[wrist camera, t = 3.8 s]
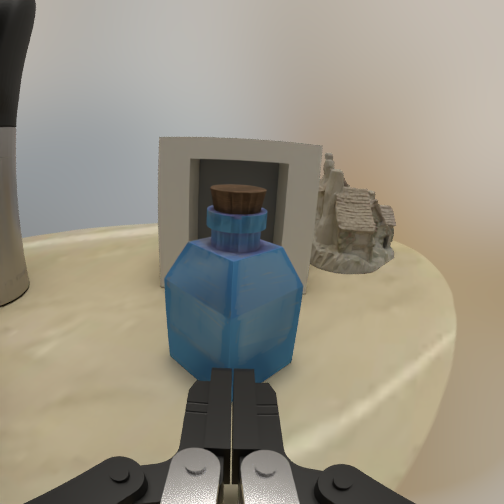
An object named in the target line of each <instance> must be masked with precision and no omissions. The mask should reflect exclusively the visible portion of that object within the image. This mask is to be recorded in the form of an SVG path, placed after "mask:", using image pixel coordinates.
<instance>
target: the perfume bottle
mask: <svg viewBox="0 0 504 504" xmlns="http://www.w3.org/2000/svg"><path fill="white" fill-rule="evenodd" d="M210 189H211V195H212V200H213V205H211V206H209V207H208V208H207V223H206V225H207V226H208V227H209V228H211V237H208V238H203V239H198V240H194V241H189V242H188V243H187V244H186V246H185V247H184V249H183V250H182V252H181V253H180V255H179V256H178V258H177V259H176V261H175V262H174V264H173V265H172V267H171V268H170V270H169V272H168V273H167V275H166V276H165V278H164V284H165V301H166V315H167V328H168V339H169V350H170V356H171V357H172V358H173V359H175V360H176V361H177V362H178V363H179V364H180V365H181V366H182V367H184V368H185V369H186V370H187V371H188V372H189V373H190V374H192V375H193V376H194V377H195V378H196V379H197V380H199V381H210V380H211V370H212V367H215V368H232V394H231V402H232V401H233V377H234V368H240V369H254V373H255V383H262V382H263V381H265V380H266V379H268V378H269V377H271V376H272V375H273V374H275V373H276V372H278V371H279V370H281V369H282V368H284V367H285V366H286V365H288V364H289V363H291V361H292V355H293V349H294V344H295V338H296V332H297V326H298V319H299V313H300V307H301V300H302V293H303V284H302V282H301V280H300V278H299V276H298V274H297V272H296V271H295V269H294V267H293V265H292V263H291V261H290V259H289V257H288V255H287V254H286V252H285V250H284V248H283V247H282V246H279V245H276V244H273V243H270V242H267V241H264V240H261V239H260V236H261V231H263V230H265V229H266V224H267V210H266V209H264V208H262V204H263V201H264V197H265V194H266V191H267V190H266V189H264V188H261V187H256V186H249V185H235V184H225V185H214V186H211V187H210Z"/></svg>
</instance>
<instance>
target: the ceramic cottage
mask: <svg viewBox="0 0 504 504" xmlns="http://www.w3.org/2000/svg"><path fill="white" fill-rule="evenodd" d="M325 159H326V161H325V164H324V168H323V170H324V176H323V177H322V179H320V180H319V190H318V199H317V208H316V217H315V226H314V234H313V242H312V250H311V257H310V264H312V265H313V266H315V267H317V268H319V269H322V270H325V271H329V272H334V273H341V274H363V273H366V272H367V273H371V272H374V271H375V270H377V269H378V268H380V267H381V266H383V265H385V263H387V262H389V261H390V260H392V259H393V258H394V251H393V250H392V248H391V247H390V244H391V243H390V242H392V239H393V236H394V235H393V234H394V229H393V226H396V222H395V218H394V213H393V210H392V208H391V207H390V206H386V205H379V204H378V200H375V192H374V191H370V190H369V191H368V189H358V188H351V187H350V186H349V185H348V184H347V183H346V181H345V178H344V177H343V172H342V171H341V170H337V169H334V161H333V155H332V153H326V154H325Z"/></svg>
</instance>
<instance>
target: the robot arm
mask: <svg viewBox="0 0 504 504" xmlns="http://www.w3.org/2000/svg"><path fill="white" fill-rule="evenodd" d="M35 11H36V3H35V0H0V305H3V304H6V303H8V302H10V301H12V300H14V299H16V298H17V297H19V296H20V295H22V294H23V293H24V292H25V291H26V290H27V288H28V286H29V278H28V273H27V268H26V262H25V256H24V250H23V243H22V236H21V228H20V220H19V210H18V199H17V184H16V156H15V155H16V128H15V127H16V117H17V108H18V101H19V92H20V84H21V78H22V71H23V67H24V62H25V58H26V53H27V49H28V45H29V41H30V37H31V33H32V29H33V24H34V18H35ZM231 394H232V368H215V367H212V370H211V380H210V381H198V380H197V381H196V382H195V383H194V384H193V386H192V387H191V388H190V389H189V393H188V398H187V404H186V410H185V416H184V422H183V428H182V434H181V441H180V446H179V449H178V451H177V453H176V454H175V455H174V456H173V457H172V458H171V459H169V460H167V461H165V462H162V463H158V464H150V465H141V466H140V465H139V464H138V463H137V462H136V461H134V460H132V459H130V458H127V457H121V456H117V457H111V458H109V459H107V460H105V461H103V462H101V463H100V464H98V465H96V466H95V467H93V468H91V469H89V470H88V471H86V472H84V473H82V474H80V475H79V476H77V477H75V478H73V479H71V480H70V481H68V482H66V483H64V484H62V485H60V486H58V487H56V488H55V489H53V490H51V491H49V492H47V493H45V494H43V495H41V496H39V497H37V498H35V499H33V500H30V501H28V502H26V503H24V504H222V502H223V495H224V484H230V454H231ZM232 484H238V504H415V503H413V502H412V501H410V500H408V499H406V498H404V497H403V496H401V495H399V494H397V493H396V492H394V491H392V490H390V489H389V488H387V487H385V486H384V485H382V484H380V483H379V482H377V481H376V480H374V479H372V478H371V477H369V476H368V475H366V474H364V473H363V472H361V471H360V470H358V469H357V468H355V467H353V466H350V465H345V464H337V465H333V466H330V467H328V468H326V469H325V470H324V471H320V470H314V469H308V468H304V467H301V466H298V465H296V464H295V463H293V462H292V461H291V460H290V459H289V458H288V457H287V456H286V454H285V452H284V447H283V440H282V433H281V426H280V419H279V412H278V407H277V397H276V392H275V391H274V390H273V388H272V387H271V386H270V384H269V383H255V373H254V369H240V368H234V377H233V409H232Z"/></svg>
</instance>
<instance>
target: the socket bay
mask: <svg viewBox="0 0 504 504" xmlns="http://www.w3.org/2000/svg"><path fill="white" fill-rule="evenodd" d="M321 157H322V146H320V145H311V144H303V143H293V142H281V141H269V140H256V139H238V138H215V137H159V165H158V234H159V262H160V281H161V287H165V284H164V278H165V276H166V275H167V273H168V272H169V270H170V268H171V267H172V265H173V264H174V262H175V261H176V259H177V258H178V256H179V255H180V253H181V252H182V250H183V249H184V247H185V246H186V244H187V243H188V242H189V241H194V240H198V239H203V238H208V237H211V228H209V227H208V226H207V225H206V223H207V208H208V207H209V206H211V205H213V200H212V195H211V189H210V187H211V186H214V185H225V184H235V185H249V186H256V187H261V188H264V189H266V190H267V191H266V194H265V197H264V201H263V204H262V208H264V209H266V210H267V224H266V229H265V230H263V231H261V236H260V239H261V240H264V241H267V242H270V243H273V244H276V245H279V246H282V247H283V248H284V250H285V252H286V254H287V255H288V257H289V259H290V261H291V263H292V265H293V267H294V269H295V271H296V272H297V274H298V276H299V278H300V280H301V282H302V284H303V293H302V294H305V293H306V286H307V279H308V272H309V265H310V257H311V250H312V242H313V234H314V226H315V217H316V208H317V199H318V190H319V180H320V169H321Z"/></svg>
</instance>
